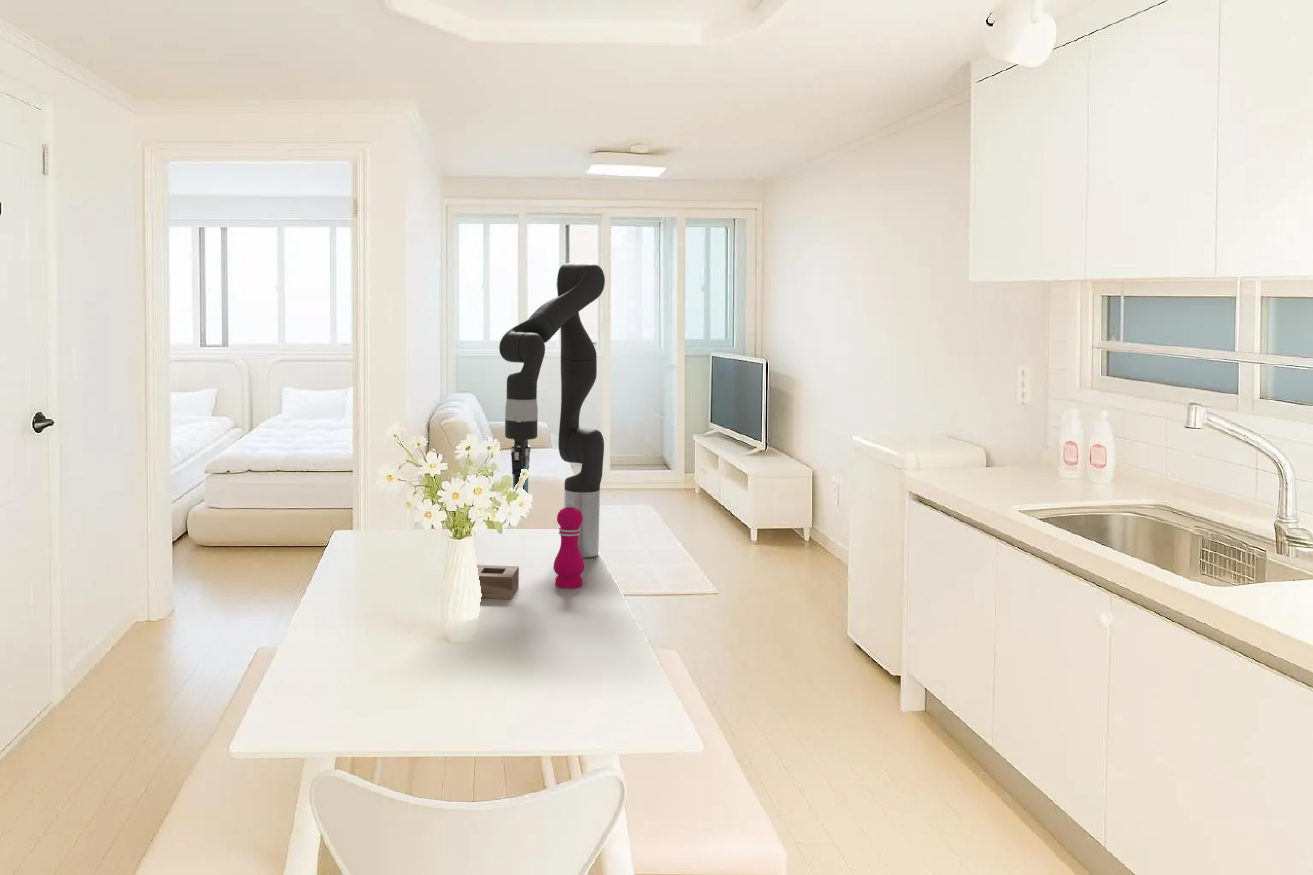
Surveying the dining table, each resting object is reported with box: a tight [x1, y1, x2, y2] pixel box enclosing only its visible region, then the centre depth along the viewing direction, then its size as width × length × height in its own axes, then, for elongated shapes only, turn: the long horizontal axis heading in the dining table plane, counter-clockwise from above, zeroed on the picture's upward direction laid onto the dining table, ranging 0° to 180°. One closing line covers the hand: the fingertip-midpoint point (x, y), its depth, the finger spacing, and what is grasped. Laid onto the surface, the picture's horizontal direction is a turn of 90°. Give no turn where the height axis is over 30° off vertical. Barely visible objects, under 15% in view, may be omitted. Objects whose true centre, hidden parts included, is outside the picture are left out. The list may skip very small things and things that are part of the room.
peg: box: [512, 459, 530, 494], centre depth 258 cm, size 4×4×10 cm
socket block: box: [476, 564, 520, 600], centre depth 247 cm, size 10×10×5 cm
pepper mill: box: [553, 501, 586, 589], centre depth 255 cm, size 7×7×20 cm
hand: (520, 490), depth 258 cm, fingers closed on peg, 3 cm apart
